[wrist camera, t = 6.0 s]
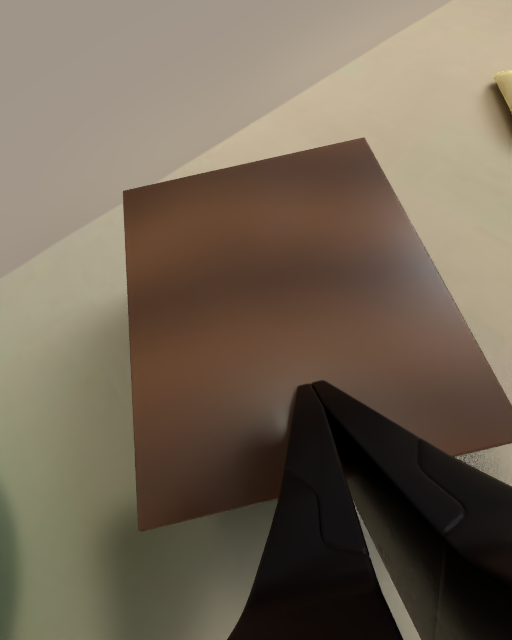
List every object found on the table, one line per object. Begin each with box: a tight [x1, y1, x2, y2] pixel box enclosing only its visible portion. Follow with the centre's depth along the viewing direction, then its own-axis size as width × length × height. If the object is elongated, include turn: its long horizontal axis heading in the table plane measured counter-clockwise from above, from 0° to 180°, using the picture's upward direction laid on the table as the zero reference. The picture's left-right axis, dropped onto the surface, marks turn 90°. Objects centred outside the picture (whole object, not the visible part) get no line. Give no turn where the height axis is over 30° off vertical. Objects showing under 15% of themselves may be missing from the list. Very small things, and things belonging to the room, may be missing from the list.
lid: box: [123, 138, 512, 532], centre depth 11 cm, size 13×12×1 cm
